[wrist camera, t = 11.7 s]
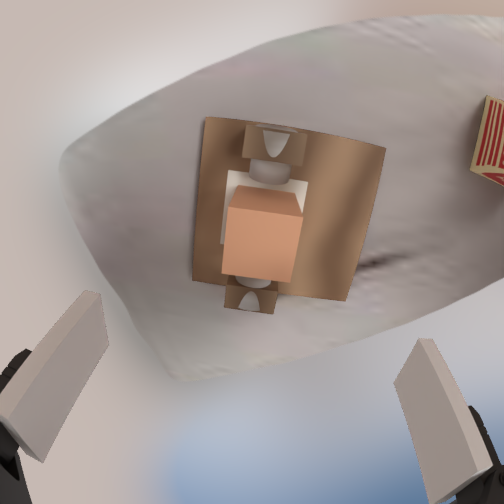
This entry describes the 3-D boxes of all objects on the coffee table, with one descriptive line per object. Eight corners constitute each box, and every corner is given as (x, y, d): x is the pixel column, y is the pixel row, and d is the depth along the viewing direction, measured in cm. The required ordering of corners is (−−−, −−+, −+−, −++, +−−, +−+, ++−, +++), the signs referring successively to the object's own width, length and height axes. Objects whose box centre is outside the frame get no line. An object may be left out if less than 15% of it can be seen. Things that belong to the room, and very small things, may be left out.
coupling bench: (380, 146, 26) (406, 154, 20) (342, 293, 32) (354, 327, 27) (209, 116, 25) (193, 115, 20) (195, 273, 32) (181, 305, 27)
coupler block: (238, 184, 26) (228, 206, 20) (294, 193, 26) (303, 217, 20) (232, 237, 28) (221, 273, 22) (285, 244, 28) (290, 282, 22)
